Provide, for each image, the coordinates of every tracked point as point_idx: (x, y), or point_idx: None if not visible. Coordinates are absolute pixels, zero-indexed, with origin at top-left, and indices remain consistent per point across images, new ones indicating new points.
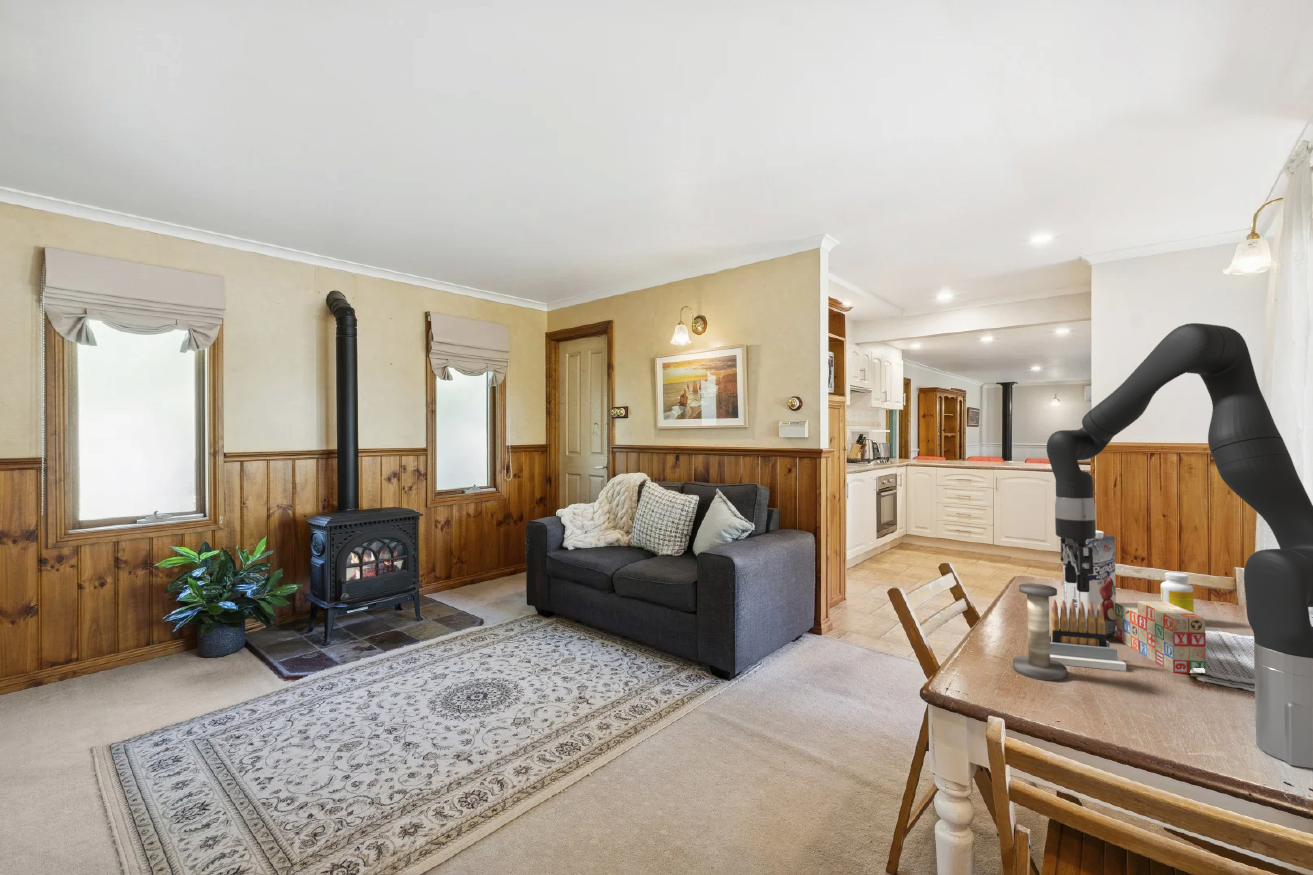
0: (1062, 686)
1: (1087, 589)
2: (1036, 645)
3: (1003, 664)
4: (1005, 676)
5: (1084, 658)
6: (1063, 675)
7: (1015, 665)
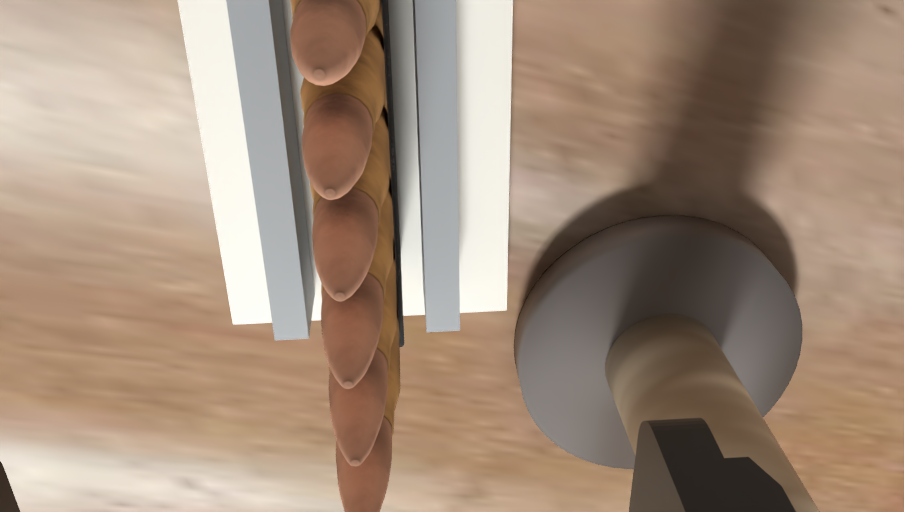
0: (853, 269)
1: (751, 471)
2: None
3: (584, 473)
4: None
5: (469, 85)
6: (765, 258)
7: None
